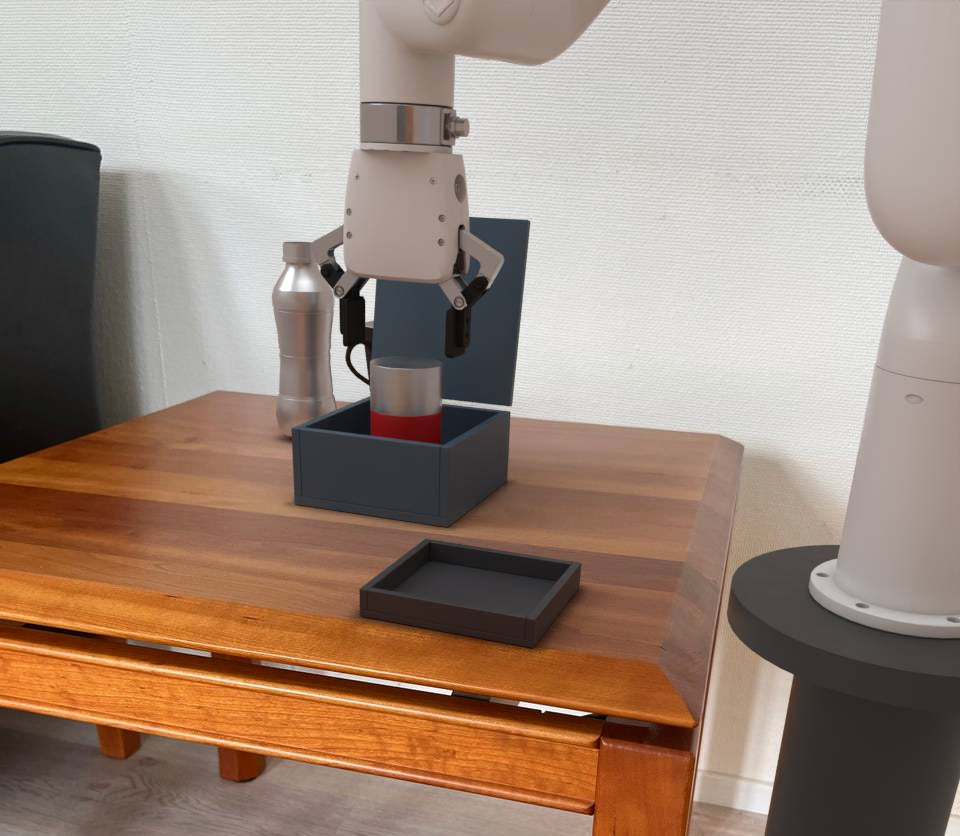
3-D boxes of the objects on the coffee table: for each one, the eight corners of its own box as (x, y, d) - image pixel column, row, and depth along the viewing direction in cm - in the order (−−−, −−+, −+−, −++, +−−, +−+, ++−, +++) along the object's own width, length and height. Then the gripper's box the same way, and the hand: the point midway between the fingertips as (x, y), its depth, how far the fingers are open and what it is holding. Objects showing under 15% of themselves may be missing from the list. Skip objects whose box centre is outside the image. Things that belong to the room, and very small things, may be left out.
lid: (528, 219, 91) (543, 228, 96) (380, 211, 96) (401, 220, 100) (509, 406, 96) (525, 406, 100) (368, 390, 100) (390, 391, 105)
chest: (447, 527, 86) (449, 447, 83) (294, 504, 90) (290, 427, 87) (507, 481, 99) (510, 411, 96) (371, 462, 103) (370, 395, 101)
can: (451, 479, 96) (454, 360, 91) (424, 497, 90) (425, 371, 86) (389, 471, 98) (388, 353, 93) (359, 488, 92) (356, 364, 88)
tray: (579, 588, 74) (581, 562, 73) (533, 648, 65) (535, 619, 64) (425, 563, 78) (425, 538, 77) (359, 616, 68) (358, 588, 67)
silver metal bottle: (300, 428, 116) (292, 239, 108) (350, 436, 113) (346, 243, 105) (264, 439, 111) (253, 242, 102) (315, 448, 108) (308, 246, 100)
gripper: (523, 138, 83) (511, 354, 90) (332, 130, 88) (335, 335, 95) (491, 134, 76) (481, 367, 84) (288, 126, 81) (295, 346, 89)
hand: (403, 350), depth 89 cm, fingers open, 9 cm apart
